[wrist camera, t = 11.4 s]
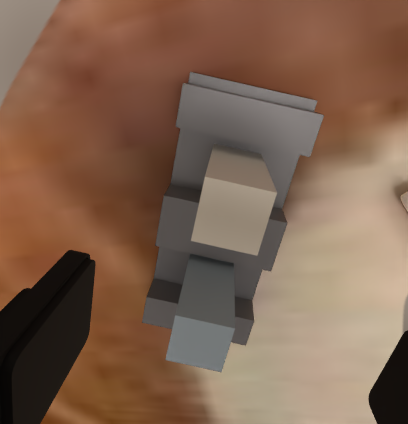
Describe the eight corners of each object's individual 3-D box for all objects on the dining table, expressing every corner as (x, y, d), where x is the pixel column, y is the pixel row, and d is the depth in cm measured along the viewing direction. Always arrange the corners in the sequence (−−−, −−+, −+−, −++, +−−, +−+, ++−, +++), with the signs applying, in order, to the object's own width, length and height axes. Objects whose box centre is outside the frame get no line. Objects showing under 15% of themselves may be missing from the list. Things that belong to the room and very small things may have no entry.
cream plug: (261, 154, 27) (277, 192, 18) (248, 198, 28) (257, 255, 19) (214, 143, 27) (204, 176, 18) (204, 188, 28) (190, 240, 19)
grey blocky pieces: (242, 322, 35) (243, 351, 31) (150, 302, 35) (141, 328, 31) (314, 99, 26) (328, 103, 22) (191, 72, 26) (185, 70, 22)
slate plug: (224, 288, 32) (221, 372, 23) (184, 279, 32) (165, 359, 23) (233, 253, 30) (235, 328, 21) (192, 244, 30) (175, 315, 21)
